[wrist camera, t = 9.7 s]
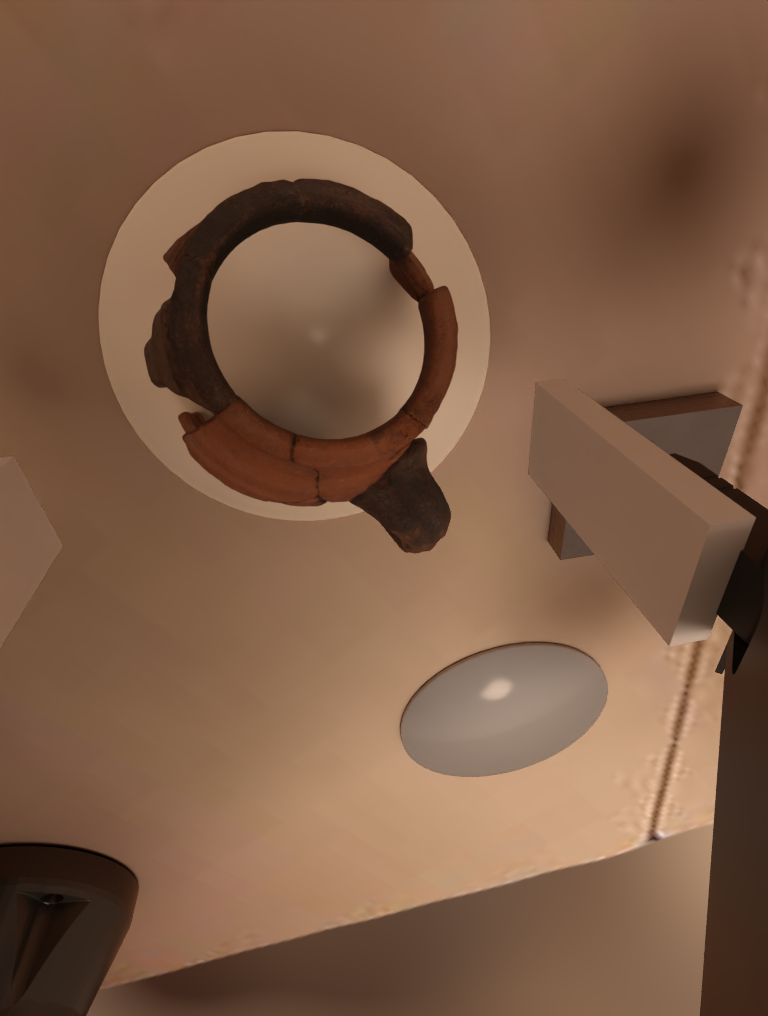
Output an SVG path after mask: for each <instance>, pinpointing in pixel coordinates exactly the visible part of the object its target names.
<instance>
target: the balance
mask: <svg viewBox="0 0 768 1016" xmlns="http://www.w3.org/2000/svg"><path fill="white" fill-rule="evenodd" d="M742 406H743V405H741V404H739V403H737V402H736V401H734V400H732V399H730V398H728V397H726V396H724V395H723V394H721V393H719V392H715V393H708V394H701V395H694V396H686V397H679V398H672V399H664V400H657V401H650V402H643V403H635V404H628V405H621V406H613V407H606V408H605V409H606V410H608V411H609V412H611V413H612V414H613V415H615V416H616V417H618V418H619V419H620V420H622V421H623V422H624V423H626V424H627V425H629V426H630V427H631V428H633V429H634V430H636V431H637V432H638V433H640V434H641V435H642V436H644V437H645V438H647V439H648V440H649V441H651V442H652V443H654V444H655V445H656V446H658V447H659V448H660V449H662V450H663V451H665V452H666V453H667V454H673V453H676V454H678V455H681V456H684V457H686V458H689V459H691V460H694V461H697V462H699V463H701V464H702V465H704V466H705V467H707V468H708V469H710V470H711V471H712V472H714V473H715V474H717V475H718V476H719V473H720V470H721V467H722V465H723V462H724V459H725V456H726V453H727V450H728V447H729V444H730V441H731V438H732V435H733V432H734V430H735V427H736V424H737V421H738V418H739V415H740V412H741V409H742ZM548 542H549V544H550V545H551V547H552V548H553V550H554V551H555V553H556V554H557V556H558V557H559V559H560V560H563V559H570V558H576V557H582V556H589V555H594V553H593V552H592V551H591V550H590V549H589V547H588V546H587V545H586V544H585V542H584V541H583V540H582V539H581V538H580V536H579V535H578V534H577V533H576V531H575V530H574V529H573V528H572V527H571V525H570V524H569V523H568V522H567V520H566V519H565V518H564V517H563V516H562V514H561V513H560V512H559V511H558V509H557V508H556V507H555V506H554V505H553V504H552V512H551V520H550V527H549V535H548Z"/></svg>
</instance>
